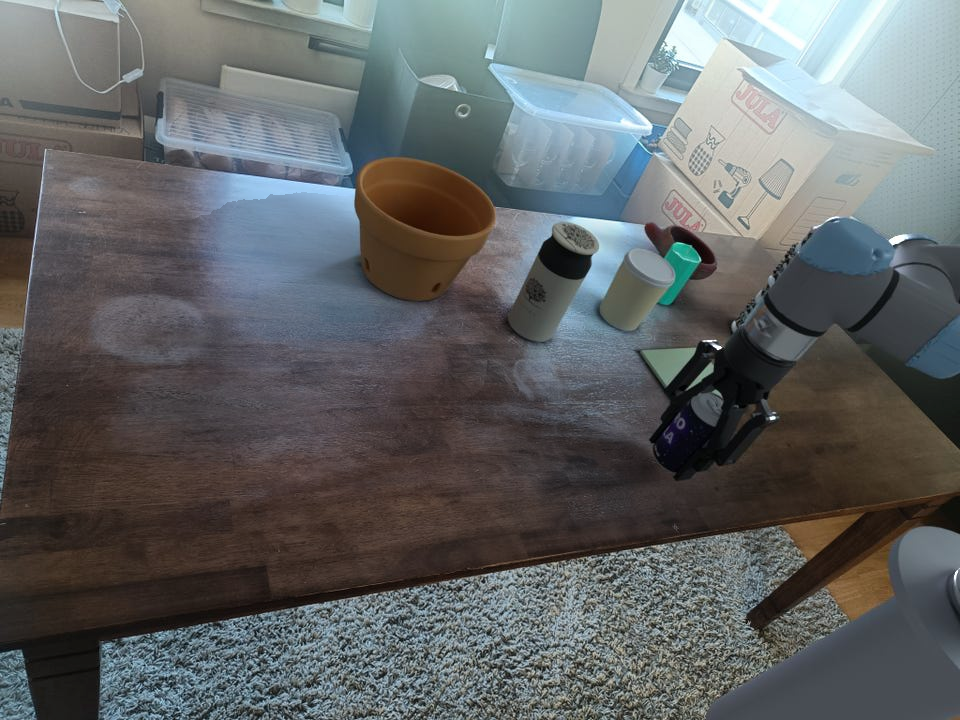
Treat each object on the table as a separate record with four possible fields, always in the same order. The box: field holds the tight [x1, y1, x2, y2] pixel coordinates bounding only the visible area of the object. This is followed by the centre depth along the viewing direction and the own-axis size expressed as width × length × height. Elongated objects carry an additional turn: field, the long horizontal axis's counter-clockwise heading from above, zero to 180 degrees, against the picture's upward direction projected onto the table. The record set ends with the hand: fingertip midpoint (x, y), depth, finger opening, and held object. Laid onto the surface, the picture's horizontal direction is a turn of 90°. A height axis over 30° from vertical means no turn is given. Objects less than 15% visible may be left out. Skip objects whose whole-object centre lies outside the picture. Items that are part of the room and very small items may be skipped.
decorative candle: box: [730, 224, 822, 334], centre depth 116 cm, size 9×9×25 cm
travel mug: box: [507, 221, 601, 343], centre depth 97 cm, size 8×8×18 cm
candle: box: [657, 242, 701, 306], centre depth 120 cm, size 6×6×12 cm
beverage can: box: [652, 392, 724, 474], centre depth 84 cm, size 6×6×12 cm
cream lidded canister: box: [599, 248, 675, 332], centre depth 110 cm, size 9×9×12 cm
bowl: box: [644, 221, 718, 281], centre depth 130 cm, size 16×13×8 cm
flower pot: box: [353, 156, 497, 302], centre depth 97 cm, size 21×21×15 cm
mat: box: [639, 347, 722, 397], centre depth 107 cm, size 14×14×1 cm
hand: (669, 458), depth 88 cm, fingers closed on beverage can, 6 cm apart
